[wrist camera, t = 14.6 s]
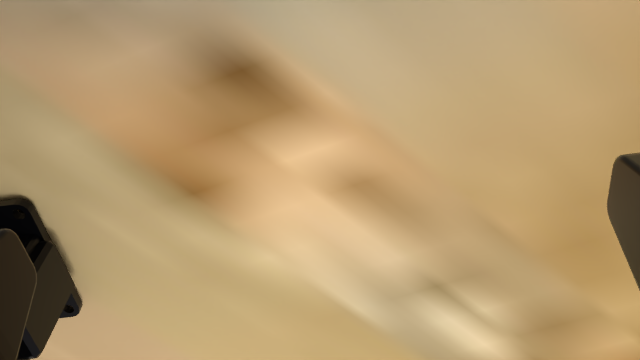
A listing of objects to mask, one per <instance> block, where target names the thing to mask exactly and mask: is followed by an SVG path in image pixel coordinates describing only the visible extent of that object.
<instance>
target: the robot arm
mask: <svg viewBox="0 0 640 360" xmlns="http://www.w3.org/2000/svg"><path fill="white" fill-rule="evenodd" d="M17 209H19V210H21V211H23V212H24V213H21V212H19V211H18V210H17ZM607 210H608V215H609V219H610V221H611V224H612V226H613V228H614V231H615V233H616V236H617V238H618V240H619V243H620V245H621V247H622V250H623V252H624V255H625V257H626V259H627V262H628V264H629V266H630V269H631V271H632V274H633V276H634V278H635V281H636V283H637V285H638V288H639V290H640V153H633V154H625V155H620V156H619V157H618V158H616V160H615V162H614V164H613V169H612V175H611V182H610V188H609V194H608V200H607ZM68 305H70V306H68ZM82 305H83V304H82V301H81V299H80V297H79V295H78V293H77V291H76V289H75V287H74V282H73V280H72V278H71V276H70V274H69V272H68V270H67V268H66V266H65V264H64V262H63V260H62V258H61V256H60V254H59V252H58V250H57V248H56V246H55V245H54V244H53V243H52V241H51V239H50V237H49V235H48V233H47V231H46V229H45V227H44V225H43V223H42V221H41V219H40V218H39V216H38V214H37V212H36V210H35V208H34V206H33V205H32V204H31V203H30V202H29V201H27V200H24V199H13V200H5V201H0V360H30V359H33V358H38V357H39V356H40V354H41V353H42V351H43V349H44V347H45V345H46V343H47V341H48V339H49V337H50V335H51V333H52V331H53V329H54V327H55V325H56V323H57V321H58V319H59V318H65V317H73V316H76V315H78V314H79V312H80V310H81V308H82ZM71 306H72V307H71Z"/></svg>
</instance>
